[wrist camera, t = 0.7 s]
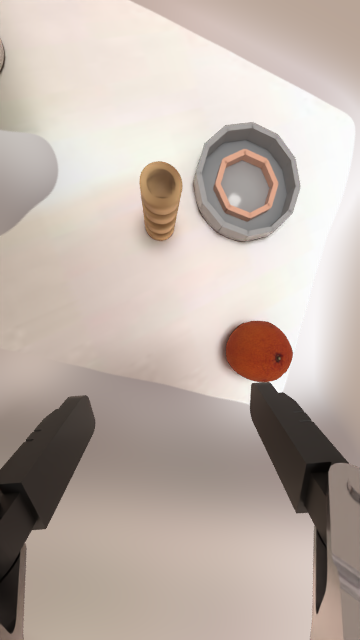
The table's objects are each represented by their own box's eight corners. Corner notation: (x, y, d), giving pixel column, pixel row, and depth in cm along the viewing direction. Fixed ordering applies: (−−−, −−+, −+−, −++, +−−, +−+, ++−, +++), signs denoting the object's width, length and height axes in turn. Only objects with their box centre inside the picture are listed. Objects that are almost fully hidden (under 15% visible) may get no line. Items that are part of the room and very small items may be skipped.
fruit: (277, 331, 30) (319, 338, 23) (256, 379, 30) (292, 402, 22) (232, 310, 29) (261, 309, 21) (211, 359, 29) (231, 377, 21)
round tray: (181, 220, 28) (184, 211, 25) (210, 122, 28) (216, 104, 25) (271, 254, 30) (282, 249, 27) (298, 163, 30) (311, 150, 27)
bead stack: (141, 234, 27) (134, 196, 18) (149, 207, 27) (146, 154, 18) (169, 244, 27) (175, 211, 19) (177, 217, 27) (187, 171, 19)
